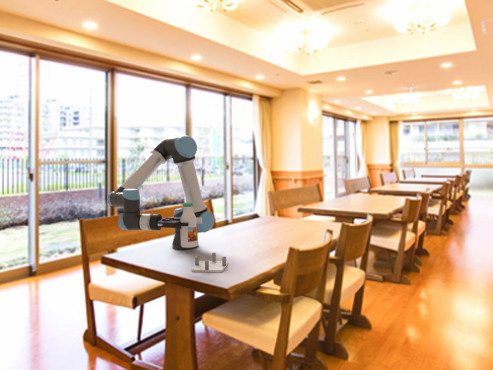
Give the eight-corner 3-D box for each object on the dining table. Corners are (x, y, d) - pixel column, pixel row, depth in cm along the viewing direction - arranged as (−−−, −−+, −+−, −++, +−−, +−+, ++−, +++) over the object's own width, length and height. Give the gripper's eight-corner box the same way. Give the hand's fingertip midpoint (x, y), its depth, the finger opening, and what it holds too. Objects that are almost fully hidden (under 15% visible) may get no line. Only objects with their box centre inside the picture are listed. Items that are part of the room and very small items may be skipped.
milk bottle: (181, 248, 156) (179, 204, 155) (180, 244, 164) (178, 202, 162) (199, 247, 158) (197, 203, 157) (196, 243, 166) (195, 201, 164)
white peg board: (199, 262, 172) (199, 252, 172) (229, 262, 170) (229, 252, 169) (190, 271, 157) (190, 261, 157) (222, 272, 155) (222, 261, 155)
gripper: (161, 225, 174) (205, 226, 169) (142, 234, 153) (191, 235, 149) (160, 210, 173) (205, 210, 169) (141, 217, 153) (191, 218, 149)
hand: (198, 222), depth 159 cm, fingers closed on milk bottle, 8 cm apart
